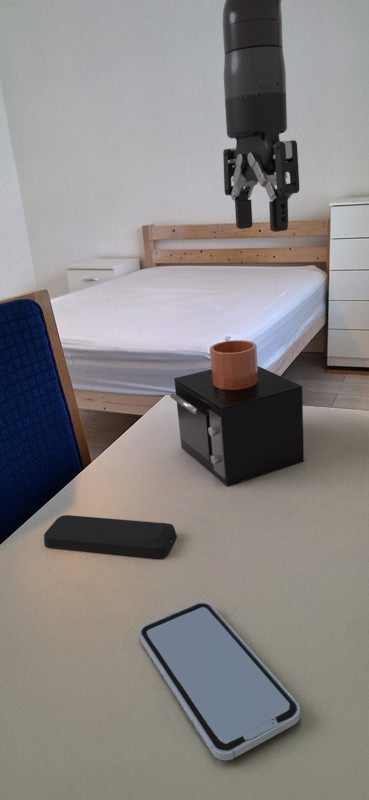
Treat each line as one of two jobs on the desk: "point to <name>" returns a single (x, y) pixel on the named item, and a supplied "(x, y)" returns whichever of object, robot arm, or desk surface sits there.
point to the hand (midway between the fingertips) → (260, 229)
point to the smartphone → (218, 680)
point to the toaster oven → (240, 425)
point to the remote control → (111, 536)
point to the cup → (234, 364)
